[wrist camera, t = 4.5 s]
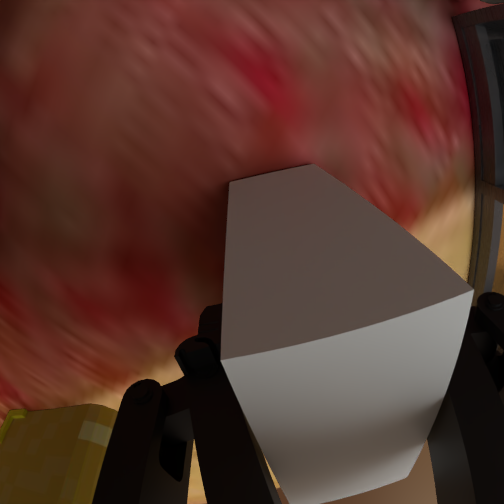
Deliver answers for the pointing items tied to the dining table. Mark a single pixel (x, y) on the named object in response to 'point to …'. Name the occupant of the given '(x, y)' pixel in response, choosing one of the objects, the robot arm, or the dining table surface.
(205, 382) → the robot arm
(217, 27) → the dining table surface
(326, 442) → the block
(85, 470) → the book
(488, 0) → the network device
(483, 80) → the rack
